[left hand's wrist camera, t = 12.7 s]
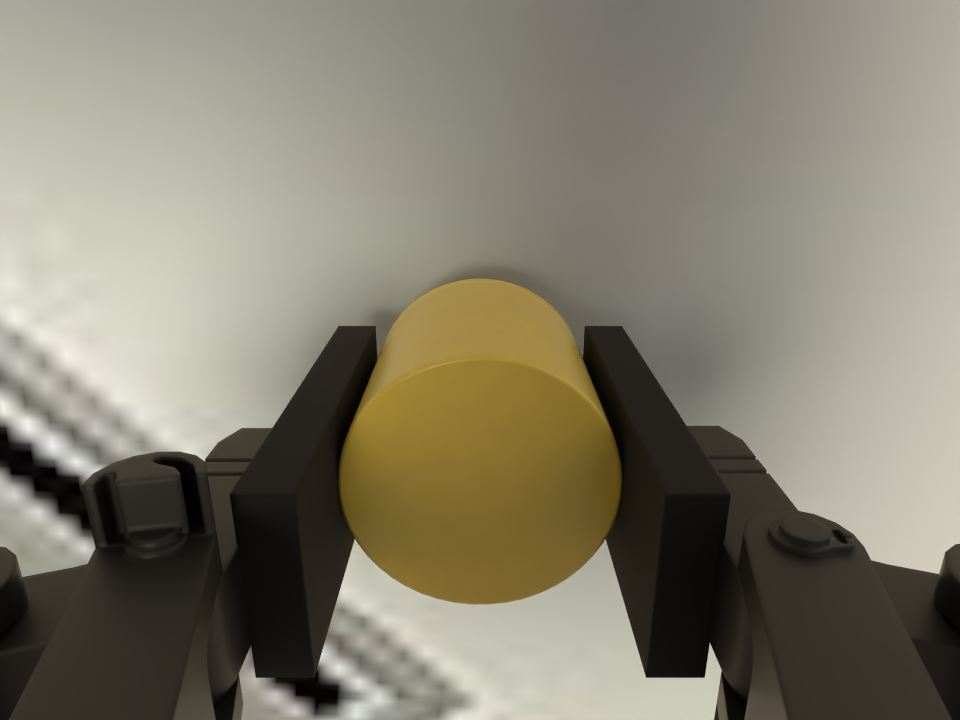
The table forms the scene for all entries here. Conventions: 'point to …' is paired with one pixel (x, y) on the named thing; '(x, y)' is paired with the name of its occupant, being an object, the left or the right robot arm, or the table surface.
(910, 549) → the table surface
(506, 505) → the tin
